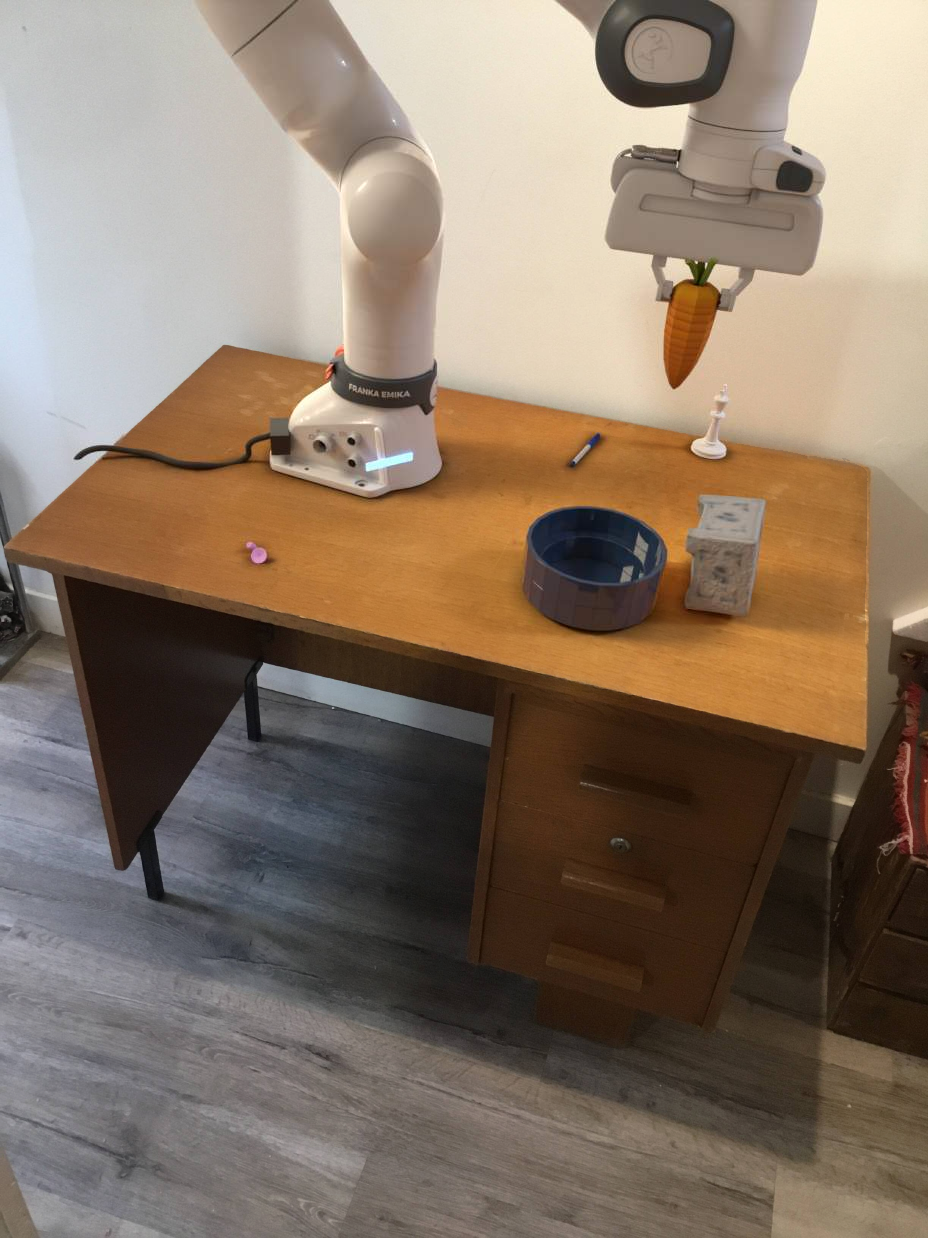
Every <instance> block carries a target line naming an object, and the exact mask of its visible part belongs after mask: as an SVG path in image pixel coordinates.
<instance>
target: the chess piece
mask: <svg viewBox="0 0 928 1238" xmlns="http://www.w3.org/2000/svg"><path fill="white" fill-rule="evenodd" d="M728 389H729V387H728V384H727V383H723V385H722V389H721V390H720V391H719V394H716V395H715V396H714V397H713V400H714V409H713V410H711V411H710V412H709V416H710V417H712V419H711V423H710V425H709V428H708V430H707V433H706V435H705V436H703V437H702V438H696V439H695V440H694V441H693V442H692V443H691V445H690V449H691V451H692V453H694V454H695V455H696V456H698V457H700V458H704V459H709V460H720V459H722V458H724V457H726V454H727V446H726V445H725V444H724V443H723V442H721V441H720V440H719V431H720V423H721V420H722V419H725V418H726V412H725V411H724V410H725V408H726V406H727V405H728V404H729V403H730V398H729V397H728V396H727V395H726V392H727V391H728Z"/></svg>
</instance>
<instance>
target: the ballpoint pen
mask: <svg viewBox="0 0 928 1238" xmlns="http://www.w3.org/2000/svg"><path fill="white" fill-rule="evenodd" d="M600 438H601V434H600V432H597V433H596V434H594V436H593V437H592V438H591V439H590V440H589V441H588V442H587V443H586V445H585V446H584V447H583V448H582V449H581V450H580V452H579V453H578V454H577V455H576V456H575V458H574V459H572V461H571V462H570V464H569V467H571V468H572V467H574V466H575V465H576V464H578V462H579V461H581V459H582V458H583V457H584V456H585V455H586V453H587V452H589V450H590V449H591V448H593V446H594V445H595V444H596V443H597V442H598V441H599V440H600Z"/></svg>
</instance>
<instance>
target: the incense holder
mask: <svg viewBox="0 0 928 1238" xmlns="http://www.w3.org/2000/svg"><path fill="white" fill-rule="evenodd" d="M766 506H767V504H766V499H763V498H760V497H758V498H757V497H756V498H755V497H745V496H734V495H721V494H717V495H716V494H704V493H703V494H702V493H701V494H699V496H698V498H697V508H696V512H697V514H698V515H699V516H700V519H699V522H698V525H697V527H689V529H688V531H687V534H686V538H685V547H684V548H685V549H684V551H685V552H686V553H689V554H690V555H691V567H690V583H689V587H688V588H687V590H686V593H685V596H684V607H685V608H686V609H687V610H688V609H689V610H694V611H704V612H710V613H719V614H725V615H730V616H737V617H746V616H748V614H749V612H750V608H751V601H752V595H753V588H754V585H755V580H756V574H757V571H758V564H759V554H760V547H761V541H762V540H761V539H762V531H763V527H764V526H763V525H764V520H765V519H764V518H765V513H766Z"/></svg>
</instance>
